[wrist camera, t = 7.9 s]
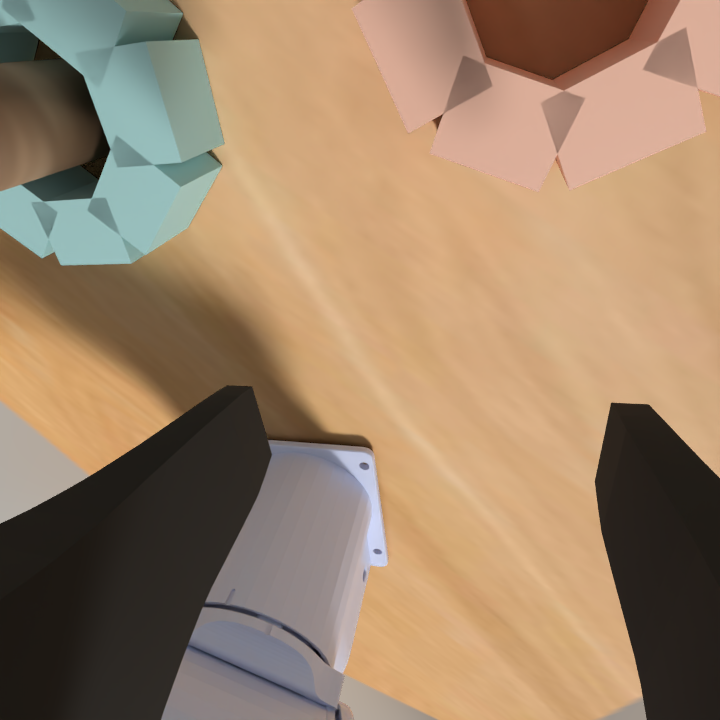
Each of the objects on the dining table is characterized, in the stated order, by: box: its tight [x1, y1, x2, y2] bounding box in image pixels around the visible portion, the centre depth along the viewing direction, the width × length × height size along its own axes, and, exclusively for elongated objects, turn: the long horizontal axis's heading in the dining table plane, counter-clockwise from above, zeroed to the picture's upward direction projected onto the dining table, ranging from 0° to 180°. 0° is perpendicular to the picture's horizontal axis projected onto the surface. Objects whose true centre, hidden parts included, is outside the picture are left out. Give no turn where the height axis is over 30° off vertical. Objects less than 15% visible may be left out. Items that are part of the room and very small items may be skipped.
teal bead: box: [0, 0, 224, 265], centre depth 17 cm, size 10×10×3 cm
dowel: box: [0, 58, 111, 191], centre depth 15 cm, size 3×3×8 cm
